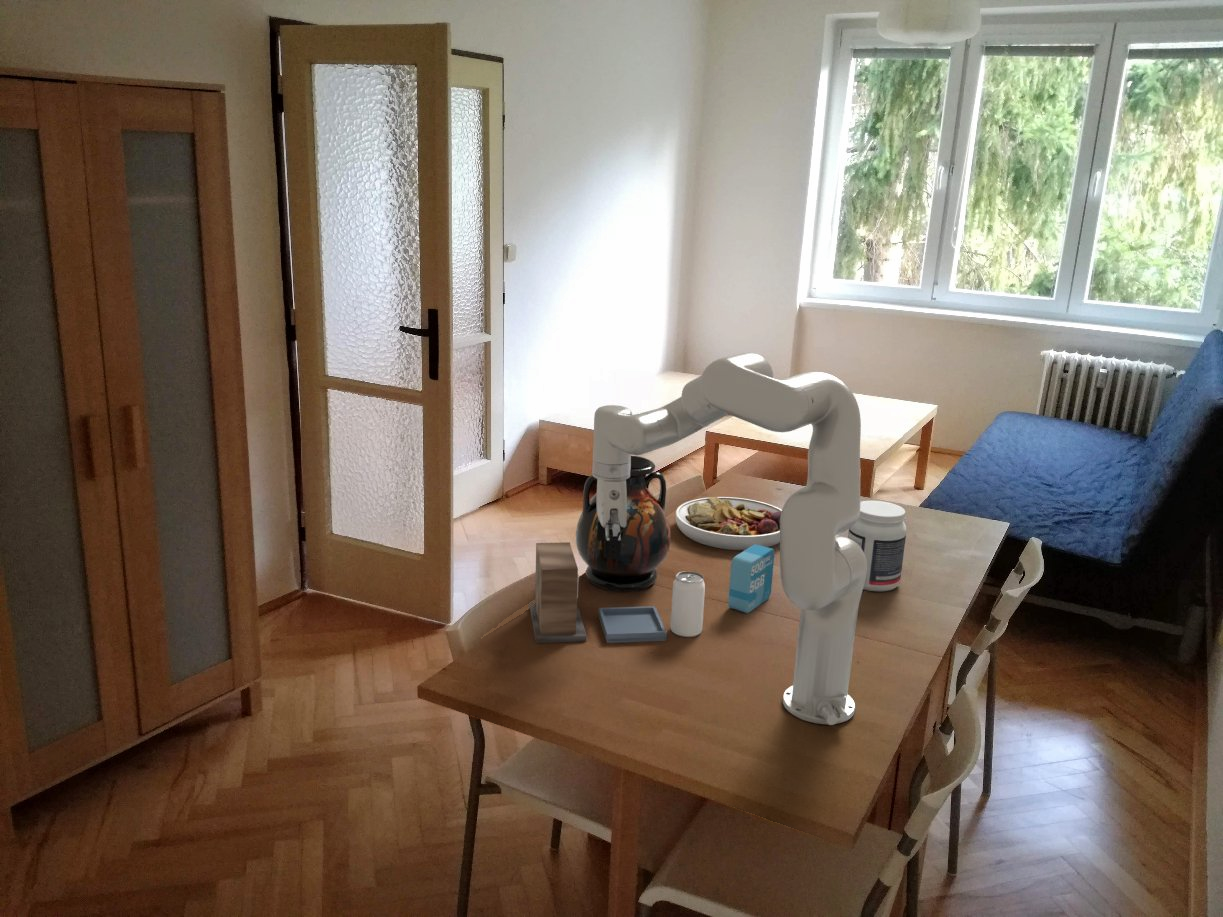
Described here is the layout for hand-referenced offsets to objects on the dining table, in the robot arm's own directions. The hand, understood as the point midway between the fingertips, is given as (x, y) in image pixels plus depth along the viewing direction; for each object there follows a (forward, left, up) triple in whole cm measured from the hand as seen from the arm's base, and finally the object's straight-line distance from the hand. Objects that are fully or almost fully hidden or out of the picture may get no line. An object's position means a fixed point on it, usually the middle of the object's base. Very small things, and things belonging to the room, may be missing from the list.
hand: (608, 549), depth 200 cm
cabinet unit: (0, +10, -16) cm, 19 cm away
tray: (-3, -5, -16) cm, 17 cm away
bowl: (+50, -41, -17) cm, 67 cm away
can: (-5, -16, -17) cm, 24 cm away
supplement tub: (+16, -65, -17) cm, 69 cm away
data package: (+7, -33, -17) cm, 38 cm away
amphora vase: (+22, -7, -17) cm, 28 cm away
